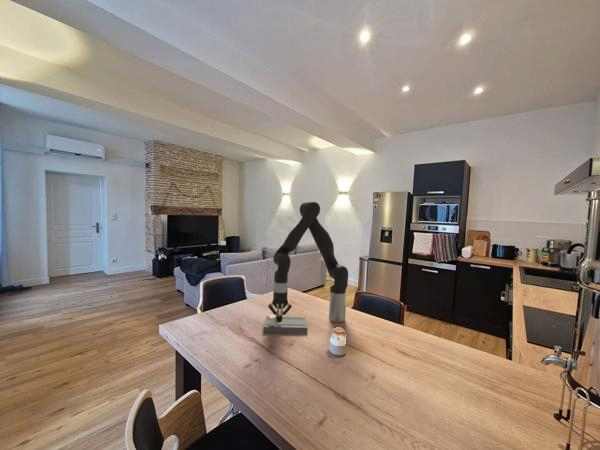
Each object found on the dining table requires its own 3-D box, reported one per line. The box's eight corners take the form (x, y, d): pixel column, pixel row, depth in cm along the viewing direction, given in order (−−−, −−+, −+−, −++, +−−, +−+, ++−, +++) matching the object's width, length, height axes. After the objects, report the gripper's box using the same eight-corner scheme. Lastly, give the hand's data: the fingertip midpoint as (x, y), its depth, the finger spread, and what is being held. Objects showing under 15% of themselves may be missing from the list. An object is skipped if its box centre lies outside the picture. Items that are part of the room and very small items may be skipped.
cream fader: (275, 322, 136) (275, 314, 136) (275, 325, 132) (275, 318, 132) (269, 321, 136) (270, 314, 136) (269, 325, 132) (269, 318, 132)
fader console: (305, 321, 146) (305, 316, 146) (307, 333, 132) (307, 327, 132) (265, 320, 145) (266, 315, 145) (263, 332, 131) (263, 326, 131)
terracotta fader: (279, 316, 144) (279, 309, 144) (278, 319, 140) (279, 312, 140) (273, 315, 144) (274, 309, 144) (273, 319, 140) (273, 312, 140)
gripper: (292, 288, 137) (291, 319, 138) (268, 287, 137) (267, 318, 137) (293, 292, 130) (291, 325, 131) (267, 292, 129) (266, 324, 130)
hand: (279, 321), depth 134 cm, fingers closed
